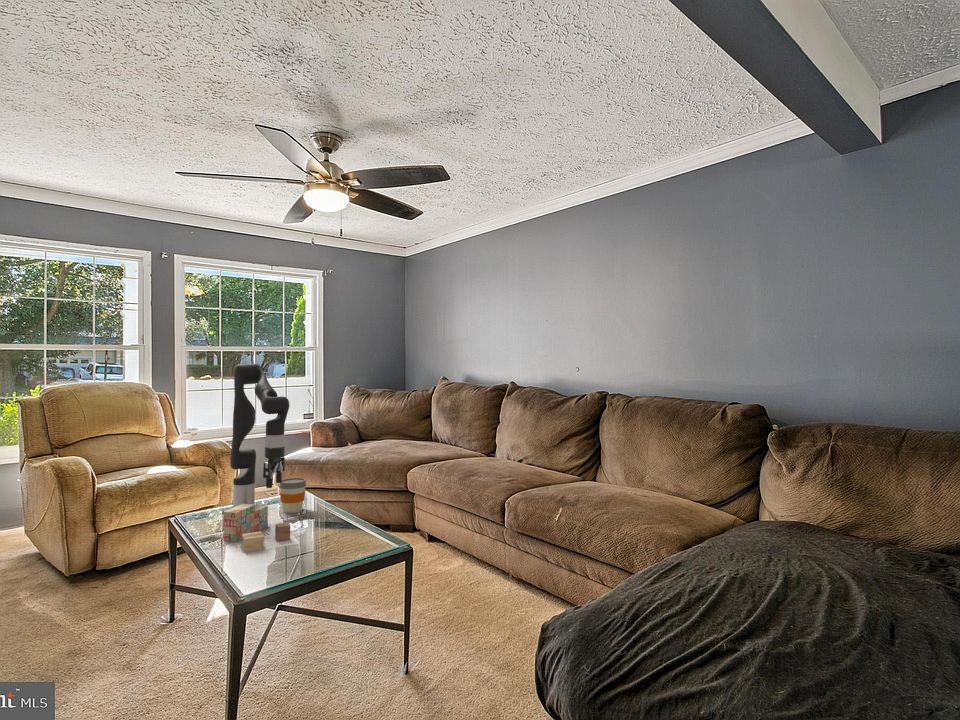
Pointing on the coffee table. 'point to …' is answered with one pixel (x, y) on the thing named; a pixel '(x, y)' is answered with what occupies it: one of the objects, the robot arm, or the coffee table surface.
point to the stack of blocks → (244, 520)
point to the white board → (273, 544)
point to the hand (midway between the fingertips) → (274, 485)
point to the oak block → (252, 541)
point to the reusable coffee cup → (292, 494)
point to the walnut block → (282, 532)
